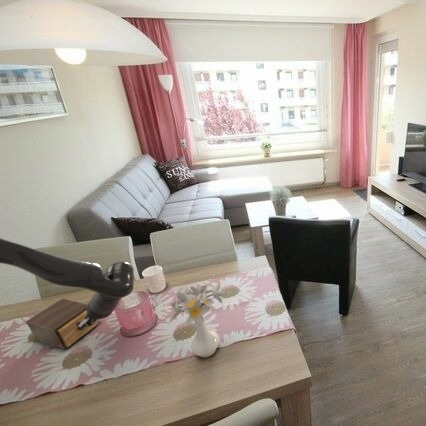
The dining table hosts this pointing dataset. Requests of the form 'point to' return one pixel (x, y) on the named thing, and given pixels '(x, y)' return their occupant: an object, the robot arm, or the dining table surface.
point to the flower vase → (199, 317)
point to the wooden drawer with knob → (74, 330)
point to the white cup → (154, 278)
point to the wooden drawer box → (54, 321)
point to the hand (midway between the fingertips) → (90, 323)
